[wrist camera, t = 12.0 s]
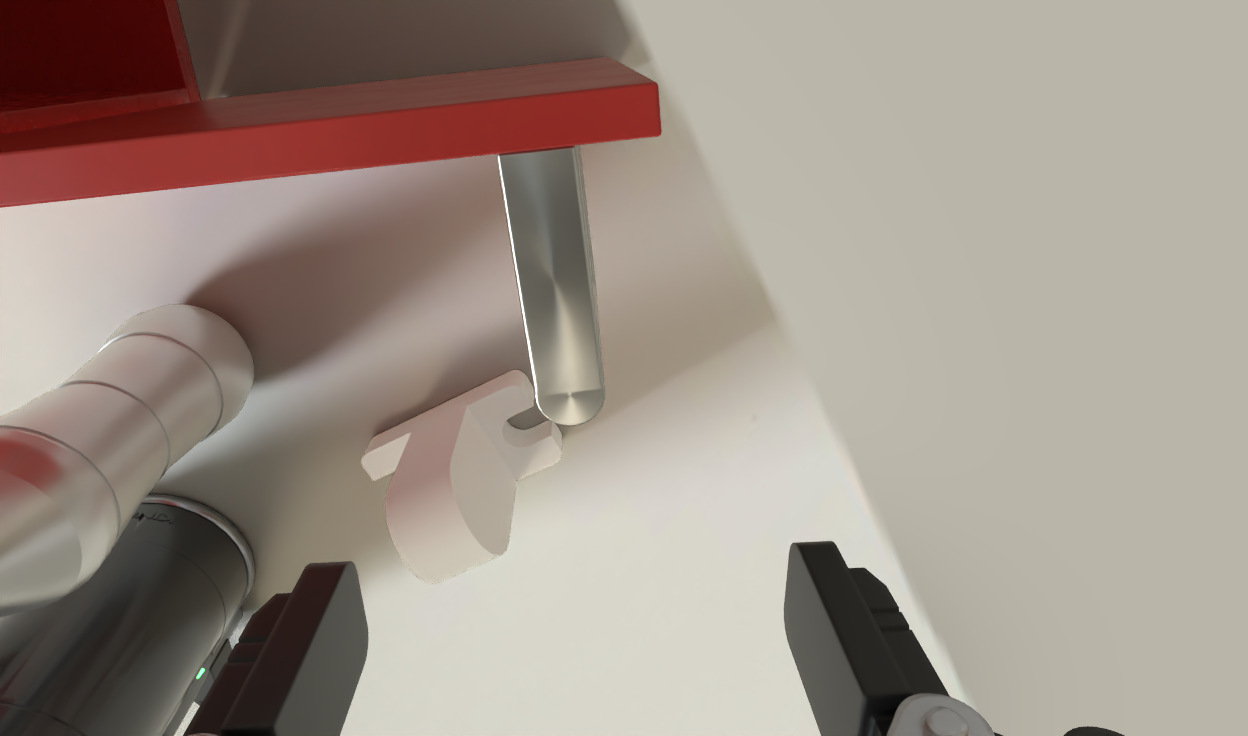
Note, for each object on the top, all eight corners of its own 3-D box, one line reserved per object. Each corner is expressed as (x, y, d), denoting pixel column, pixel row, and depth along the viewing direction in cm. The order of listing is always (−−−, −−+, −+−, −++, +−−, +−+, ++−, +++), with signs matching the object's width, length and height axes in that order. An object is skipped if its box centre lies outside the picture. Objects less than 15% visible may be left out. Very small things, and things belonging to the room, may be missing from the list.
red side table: (624, 214, 37) (682, 419, 17) (263, 254, 36) (-107, 510, 17) (609, 56, 34) (657, 81, 14) (215, 98, 33) (-306, 185, 14)
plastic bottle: (259, 294, 37) (-42, 538, 19) (275, 412, 40) (25, 724, 22) (125, 288, 37) (-316, 533, 19) (151, 408, 40) (-212, 724, 21)
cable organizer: (566, 440, 42) (563, 552, 33) (416, 509, 43) (374, 635, 34) (520, 365, 40) (503, 462, 31) (365, 440, 41) (305, 554, 32)
